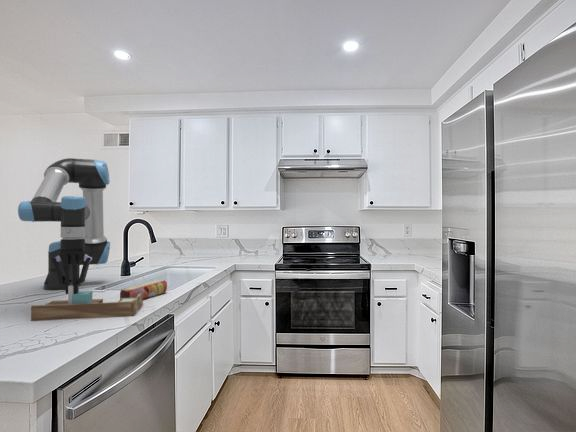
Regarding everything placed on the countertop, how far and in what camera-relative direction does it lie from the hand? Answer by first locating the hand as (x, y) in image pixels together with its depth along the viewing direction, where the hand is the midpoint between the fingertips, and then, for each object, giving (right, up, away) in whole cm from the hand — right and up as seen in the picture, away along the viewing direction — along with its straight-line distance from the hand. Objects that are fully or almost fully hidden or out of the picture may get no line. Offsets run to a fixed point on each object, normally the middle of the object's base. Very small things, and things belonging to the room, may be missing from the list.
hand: (71, 302), depth 118 cm
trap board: (+4, -5, +5) cm, 8 cm away
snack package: (+15, -5, +26) cm, 31 cm away
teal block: (+3, -2, +1) cm, 4 cm away
